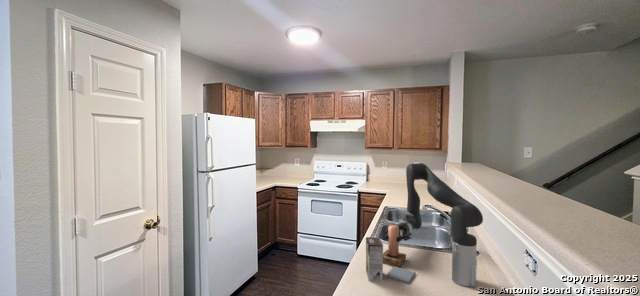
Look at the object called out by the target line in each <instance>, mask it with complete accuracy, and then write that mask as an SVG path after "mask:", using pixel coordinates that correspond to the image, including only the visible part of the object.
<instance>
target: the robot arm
mask: <svg viewBox="0 0 640 296" xmlns="http://www.w3.org/2000/svg"><path fill="white" fill-rule="evenodd" d="M405 170H406V172H405V175H406V187H407V189H406V190H407V202H406V203H407V204H406V211H407V212H408V213H409V214H405V215H404V216H403V219H402V221H400V222H399V223H397V224H396V226H398V227H399V236H398V237H397V242H401V241H405V242H406V241H408V240H411V239H412V235H413V233H412V231H413V230H419V229H421V227H422V224H423V223H422V218H421V211H420V208H421V198H420V195H419V193H418V192H417V189H416V187H415V181H419V180H423V181H425V182H426V183H427V184H426V188H427V193H429V195H430V196H431V197H432V198H433V199H434V200H435V201H436V202H439V203H440V204H442V205H444V206H446V207H449V208H451V211H450V232H451V236H452V246H451V247H452V249H451V250H452V253H451V258H452V259H451V280H452V281H453V282H454V283H455V284H457V285H460V286H463V287H472V288H475V287H476V284H477V269H478V268H477V267H478V266H477V265H478V264H477V263H478V260H477V242H478V239H477V237H476V236H475V235H473V234H471V233H469V232H468V228H474V227H475V228H476V227H478V226H480V225H482V224H483V222H484V218H483V214H482V212H481V210H480V209H479V208H478V207H477V206H476V205H474V204H473V203H472V202H470V201H469V200H467V199H465V198H464V197H462V196H461V195H459V193H458V192H456V191H455V190H454V189H452V188H451V186H449V185H448V184H447V183H446V182H444V181H443V180H441V178H439V176H437V175H436V174H435V173H434V172H433V171H432V170H431V169H430V168H429V167H428V165H426V164H424V163H419V162H418V163H409V164H408V165H407V166H406V169H405ZM384 236H385V239H386V240H388V228H386V229H385V231H384Z"/></svg>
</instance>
